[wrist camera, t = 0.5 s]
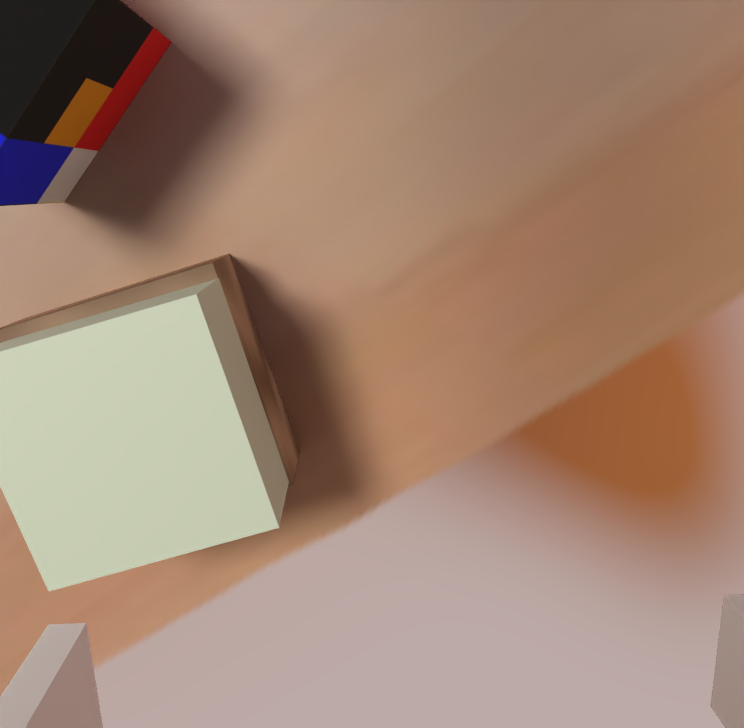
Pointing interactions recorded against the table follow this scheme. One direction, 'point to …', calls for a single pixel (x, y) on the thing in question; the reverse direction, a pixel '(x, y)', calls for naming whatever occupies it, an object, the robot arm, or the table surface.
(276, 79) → the table surface
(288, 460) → the bottom slab
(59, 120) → the puzzle toy
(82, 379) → the top slab
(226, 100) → the table surface
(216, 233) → the table surface
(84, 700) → the robot arm
